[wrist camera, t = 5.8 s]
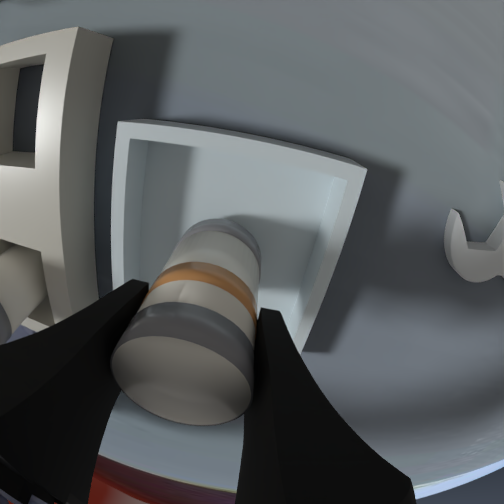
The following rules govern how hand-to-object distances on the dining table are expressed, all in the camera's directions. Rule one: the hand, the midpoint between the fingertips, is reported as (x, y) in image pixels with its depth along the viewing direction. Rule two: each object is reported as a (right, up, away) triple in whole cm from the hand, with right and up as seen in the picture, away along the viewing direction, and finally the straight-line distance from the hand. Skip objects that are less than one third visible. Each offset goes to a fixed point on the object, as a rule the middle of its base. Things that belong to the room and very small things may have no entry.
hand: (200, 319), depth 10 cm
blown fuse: (0, +2, +3) cm, 4 cm away
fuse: (-11, +2, +6) cm, 13 cm away
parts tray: (0, +2, +5) cm, 5 cm away
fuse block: (-10, +6, +4) cm, 12 cm away
